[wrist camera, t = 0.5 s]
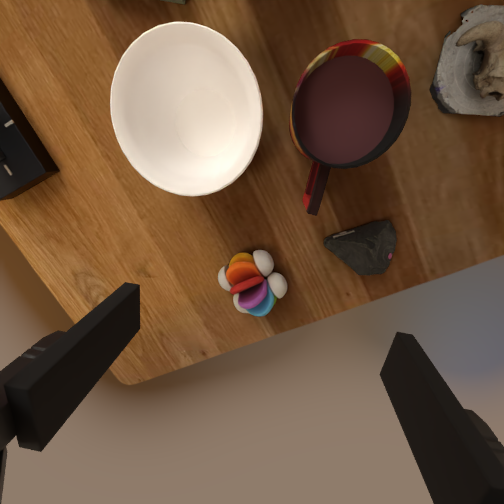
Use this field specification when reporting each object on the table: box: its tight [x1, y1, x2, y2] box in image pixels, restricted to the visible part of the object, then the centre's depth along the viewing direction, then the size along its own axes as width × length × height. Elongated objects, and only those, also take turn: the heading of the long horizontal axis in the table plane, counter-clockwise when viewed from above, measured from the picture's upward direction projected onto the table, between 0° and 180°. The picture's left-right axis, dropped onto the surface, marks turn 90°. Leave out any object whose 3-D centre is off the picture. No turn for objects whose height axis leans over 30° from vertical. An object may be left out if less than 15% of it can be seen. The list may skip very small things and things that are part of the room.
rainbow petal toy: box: [218, 250, 287, 317], centre depth 39 cm, size 8×10×7 cm
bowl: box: [110, 22, 263, 196], centre depth 32 cm, size 16×16×8 cm
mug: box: [289, 39, 411, 216], centre depth 29 cm, size 10×14×12 cm
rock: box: [324, 220, 397, 275], centre depth 37 cm, size 9×7×5 cm
